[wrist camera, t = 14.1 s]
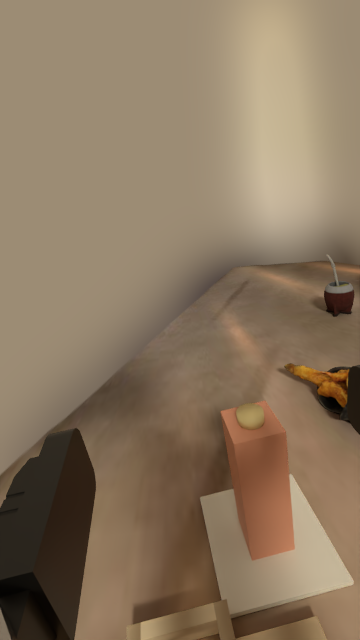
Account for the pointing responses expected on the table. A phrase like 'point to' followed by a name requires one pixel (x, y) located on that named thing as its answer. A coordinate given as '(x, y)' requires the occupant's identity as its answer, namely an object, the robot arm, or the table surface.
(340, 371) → the fried shrimp in bowl
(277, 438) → the salmon block with knob
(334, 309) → the mate gourd
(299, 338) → the table surface
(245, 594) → the felt pad
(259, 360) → the table surface
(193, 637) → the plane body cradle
